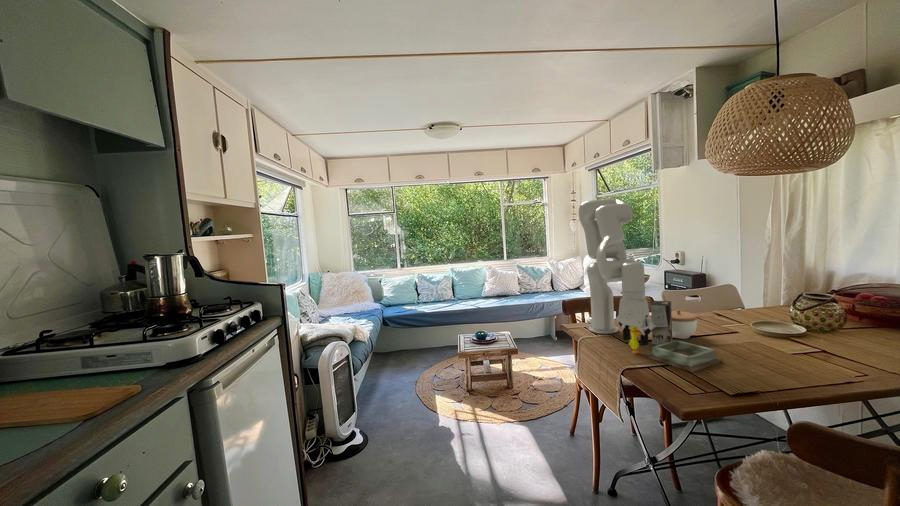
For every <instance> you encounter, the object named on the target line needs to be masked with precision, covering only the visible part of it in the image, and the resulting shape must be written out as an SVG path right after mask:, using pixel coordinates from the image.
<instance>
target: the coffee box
mask: <svg viewBox="0 0 900 506" xmlns="http://www.w3.org/2000/svg"><path fill="white" fill-rule="evenodd" d="M650 309H651V311H650V312H651V313H650V318H651V319H650V320H651V321H652V322H653V323H654V325H655V326H656V327H655V328H654V329H653V330H652V332H651V343H652V345H654V346H657V345H660V344H663V343H667V342H670V341H673V337H672V313H671V311H672V301H669V300H653V301H652V303H651V304H650Z"/></svg>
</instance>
